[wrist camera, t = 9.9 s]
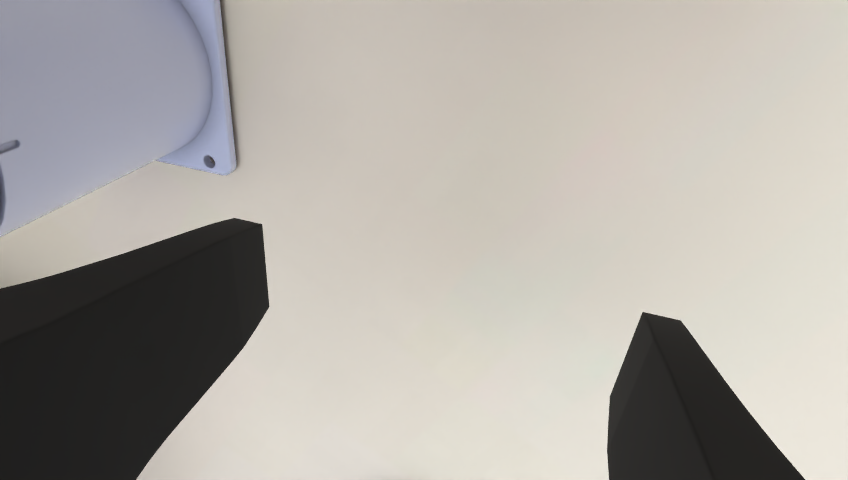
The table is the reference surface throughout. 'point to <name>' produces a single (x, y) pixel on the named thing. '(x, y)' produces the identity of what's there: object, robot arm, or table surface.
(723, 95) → the table surface
